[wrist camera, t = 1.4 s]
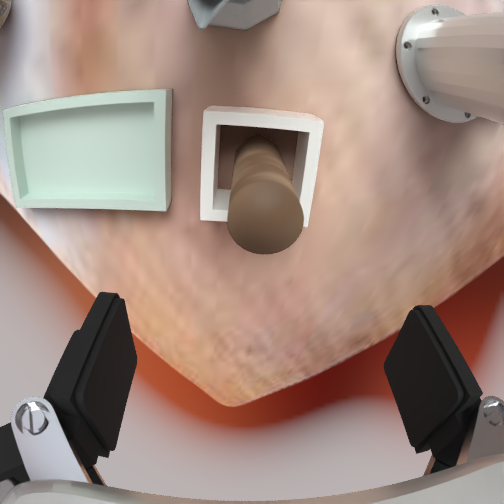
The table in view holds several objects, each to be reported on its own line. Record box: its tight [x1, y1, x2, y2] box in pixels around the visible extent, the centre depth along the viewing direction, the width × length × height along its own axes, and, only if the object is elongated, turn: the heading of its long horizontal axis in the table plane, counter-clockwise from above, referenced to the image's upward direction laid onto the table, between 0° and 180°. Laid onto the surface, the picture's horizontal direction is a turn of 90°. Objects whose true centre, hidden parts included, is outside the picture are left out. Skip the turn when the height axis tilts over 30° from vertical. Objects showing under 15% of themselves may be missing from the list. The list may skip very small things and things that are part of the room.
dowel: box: [227, 135, 304, 254], centre depth 23 cm, size 4×4×14 cm
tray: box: [3, 89, 173, 211], centre depth 26 cm, size 18×11×2 cm, turn 85°
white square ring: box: [200, 105, 324, 227], centre depth 27 cm, size 9×9×5 cm
